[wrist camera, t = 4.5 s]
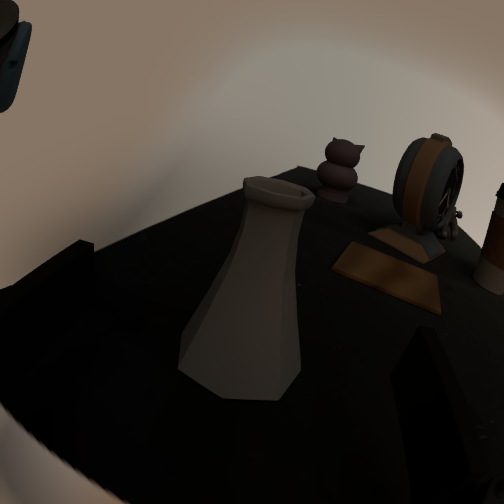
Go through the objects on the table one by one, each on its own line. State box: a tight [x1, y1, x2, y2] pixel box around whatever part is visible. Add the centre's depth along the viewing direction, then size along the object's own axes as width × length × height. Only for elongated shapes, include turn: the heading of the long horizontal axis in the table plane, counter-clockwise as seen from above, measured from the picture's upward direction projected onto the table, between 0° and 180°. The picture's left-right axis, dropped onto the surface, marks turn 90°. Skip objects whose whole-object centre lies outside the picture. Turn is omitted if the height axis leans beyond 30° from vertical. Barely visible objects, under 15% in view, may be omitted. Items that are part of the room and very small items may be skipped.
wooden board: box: [331, 241, 441, 315], centre depth 32 cm, size 12×10×1 cm
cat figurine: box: [317, 138, 365, 203], centre depth 59 cm, size 8×8×12 cm
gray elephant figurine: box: [437, 207, 462, 240], centre depth 53 cm, size 9×12×8 cm
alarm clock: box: [368, 133, 464, 264], centre depth 41 cm, size 14×10×18 cm
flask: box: [178, 176, 315, 400], centre depth 16 cm, size 7×7×10 cm
